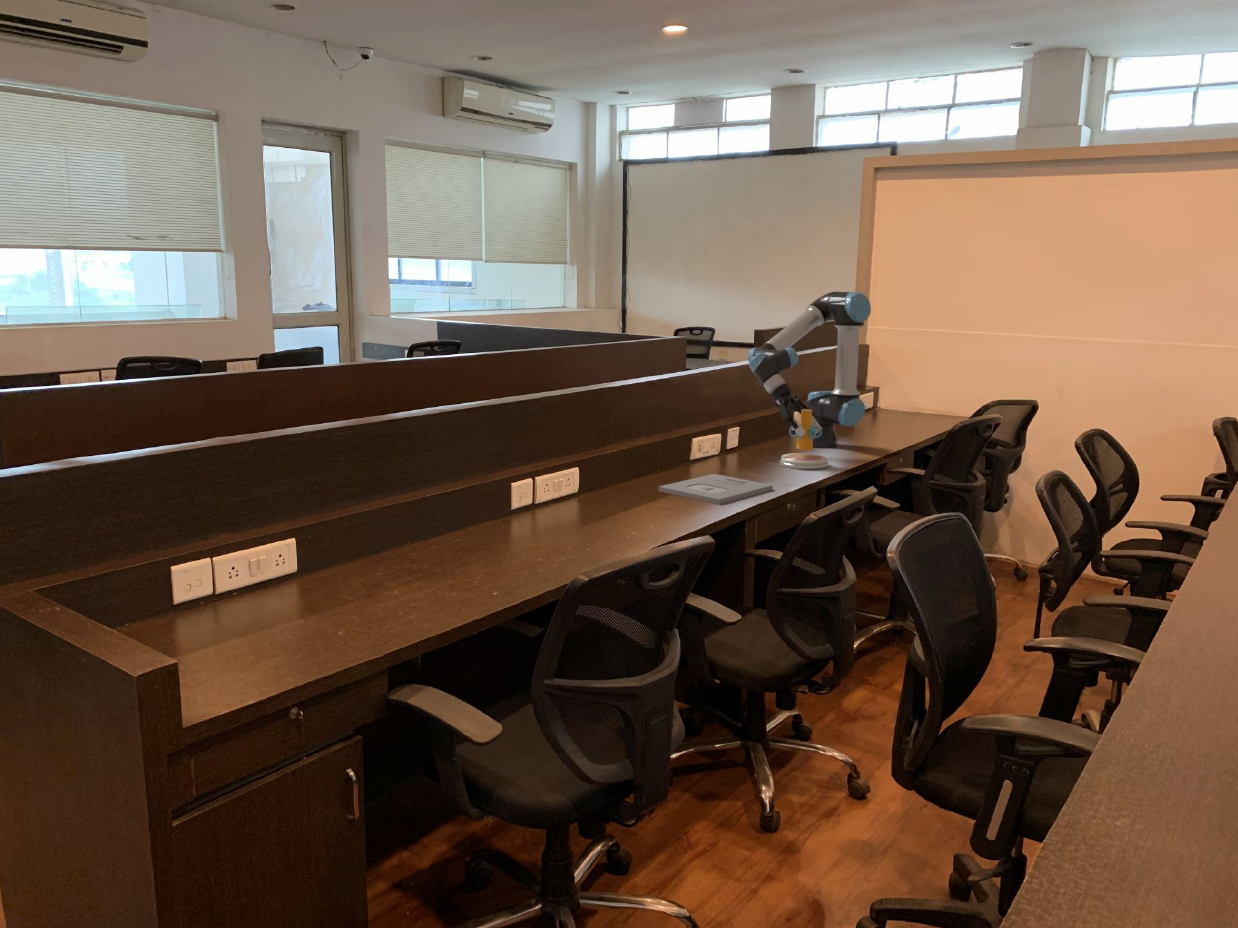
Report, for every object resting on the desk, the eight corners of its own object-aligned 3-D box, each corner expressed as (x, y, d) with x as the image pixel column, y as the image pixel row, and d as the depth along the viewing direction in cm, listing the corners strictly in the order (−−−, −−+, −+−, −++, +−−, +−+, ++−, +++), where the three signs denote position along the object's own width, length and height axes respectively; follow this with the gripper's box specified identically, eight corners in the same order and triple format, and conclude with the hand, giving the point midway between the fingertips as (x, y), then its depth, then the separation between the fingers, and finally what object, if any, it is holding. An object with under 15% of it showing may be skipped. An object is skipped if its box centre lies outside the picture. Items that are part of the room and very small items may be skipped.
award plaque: (772, 491, 310) (772, 484, 310) (718, 506, 288) (719, 499, 288) (713, 479, 326) (713, 473, 326) (658, 492, 305) (658, 486, 304)
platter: (818, 457, 361) (819, 452, 360) (833, 465, 344) (833, 461, 344) (776, 457, 359) (776, 452, 359) (788, 465, 342) (788, 461, 342)
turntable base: (819, 460, 362) (819, 456, 361) (834, 470, 344) (834, 466, 344) (774, 460, 360) (774, 457, 359) (787, 470, 342) (787, 466, 342)
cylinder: (819, 447, 355) (821, 408, 352) (822, 452, 345) (824, 412, 342) (786, 445, 356) (789, 407, 353) (789, 450, 346) (791, 411, 343)
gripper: (787, 392, 365) (819, 435, 359) (755, 397, 347) (788, 442, 341) (799, 380, 361) (833, 423, 355) (768, 384, 343) (802, 430, 336)
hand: (811, 432), depth 348 cm, fingers closed on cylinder, 12 cm apart
